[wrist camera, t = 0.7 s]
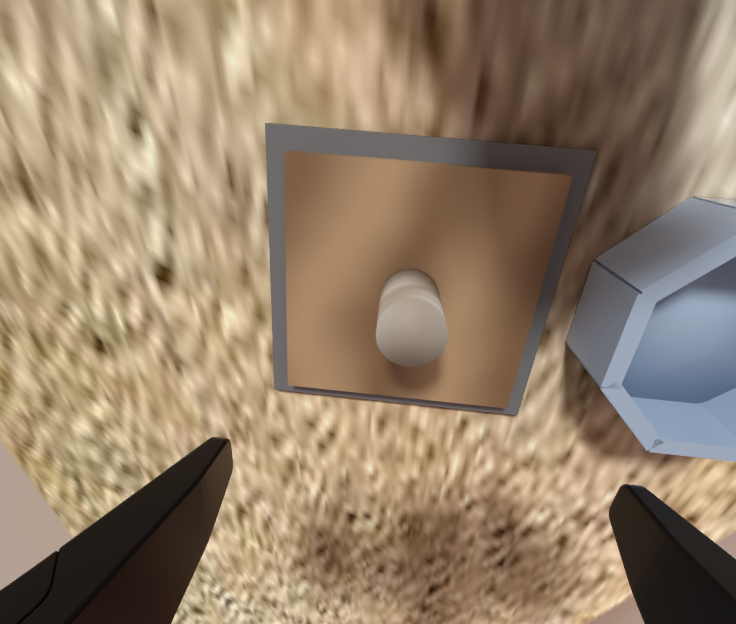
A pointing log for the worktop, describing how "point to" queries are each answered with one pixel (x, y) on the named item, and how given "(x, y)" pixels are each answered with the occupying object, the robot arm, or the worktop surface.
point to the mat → (424, 151)
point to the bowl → (667, 330)
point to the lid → (414, 274)
